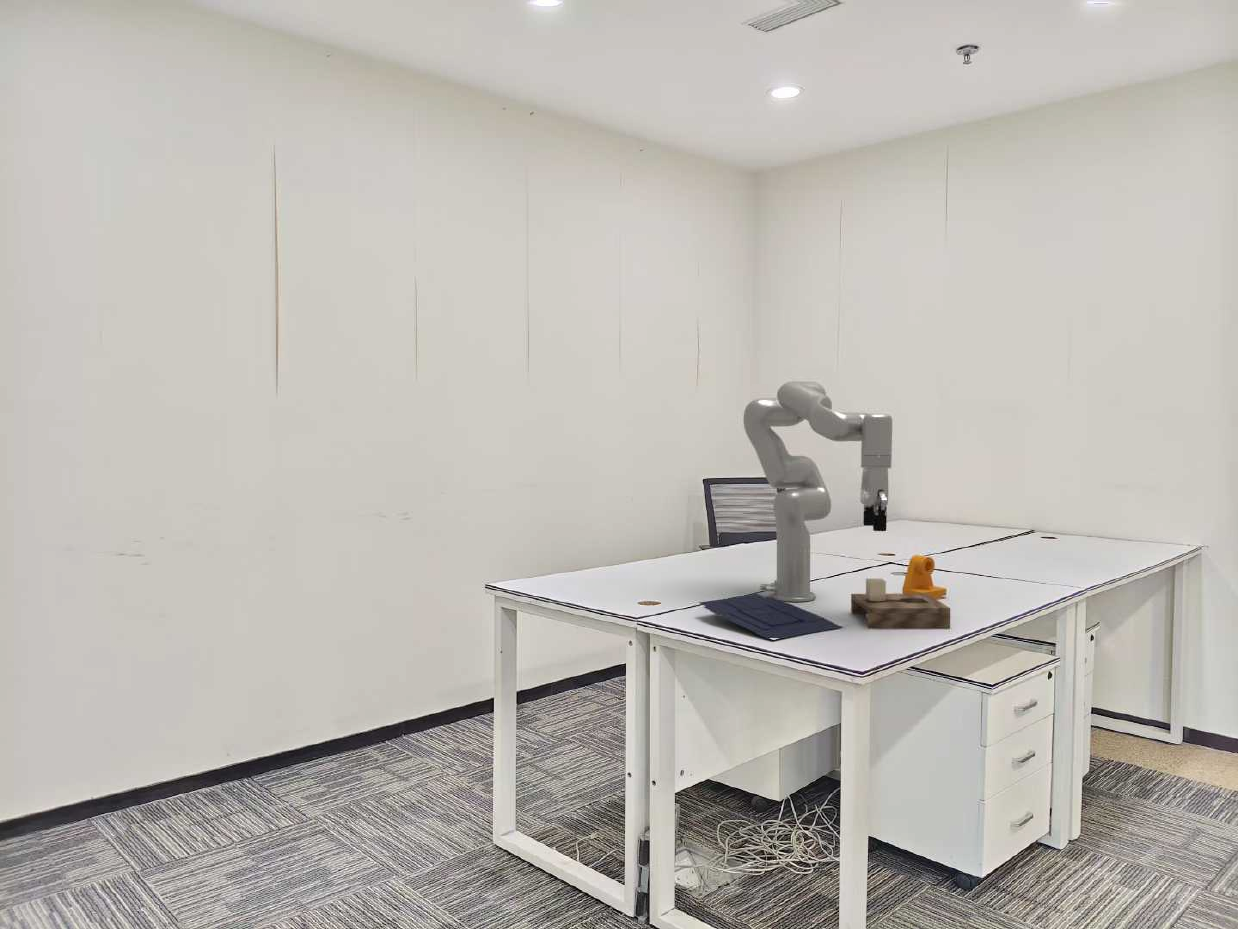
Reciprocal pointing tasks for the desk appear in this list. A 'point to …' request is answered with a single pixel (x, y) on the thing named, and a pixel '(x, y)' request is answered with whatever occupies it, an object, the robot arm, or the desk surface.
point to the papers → (769, 616)
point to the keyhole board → (903, 611)
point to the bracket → (921, 578)
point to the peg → (875, 590)
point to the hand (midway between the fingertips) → (874, 528)
